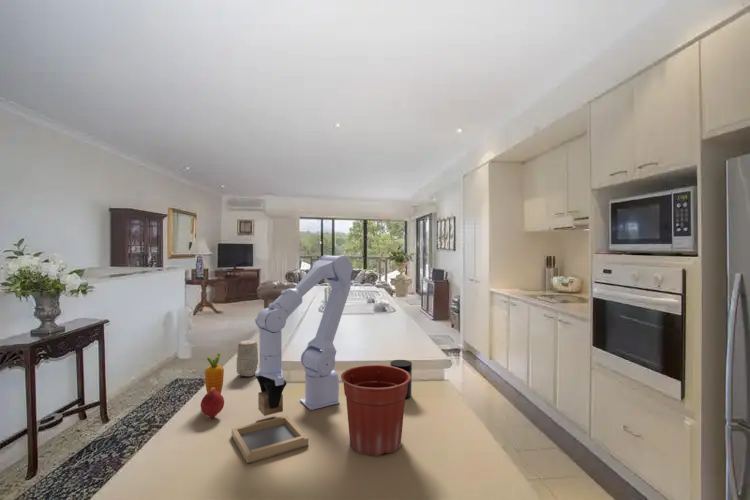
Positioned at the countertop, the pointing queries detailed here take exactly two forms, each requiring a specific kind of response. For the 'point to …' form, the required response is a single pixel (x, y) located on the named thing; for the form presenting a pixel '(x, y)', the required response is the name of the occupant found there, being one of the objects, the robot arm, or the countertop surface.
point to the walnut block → (264, 404)
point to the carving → (247, 358)
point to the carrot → (214, 375)
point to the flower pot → (375, 407)
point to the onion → (212, 403)
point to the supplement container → (407, 367)
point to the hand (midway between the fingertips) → (270, 403)
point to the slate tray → (268, 438)
